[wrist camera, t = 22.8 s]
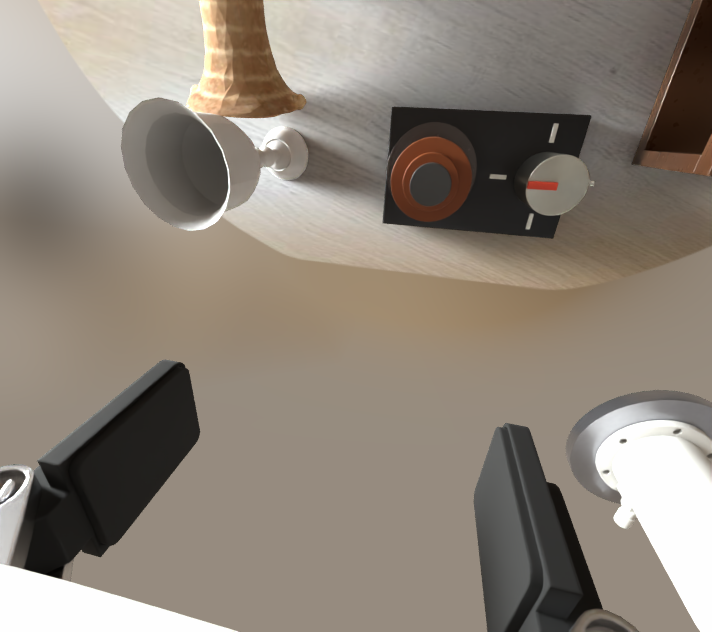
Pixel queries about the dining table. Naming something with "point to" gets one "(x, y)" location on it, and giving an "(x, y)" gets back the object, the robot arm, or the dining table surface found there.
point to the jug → (240, 65)
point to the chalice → (200, 161)
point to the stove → (494, 165)
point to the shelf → (684, 103)
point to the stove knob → (551, 182)
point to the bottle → (431, 179)
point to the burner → (433, 131)
